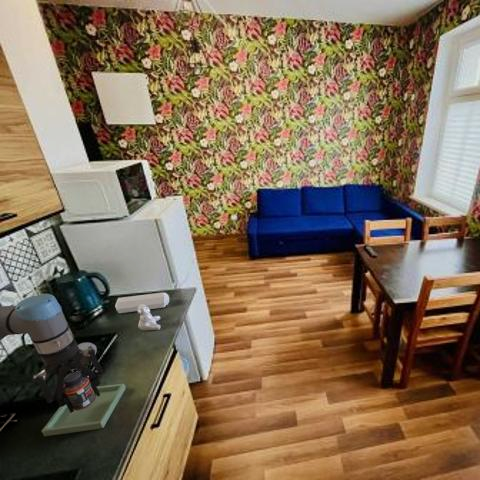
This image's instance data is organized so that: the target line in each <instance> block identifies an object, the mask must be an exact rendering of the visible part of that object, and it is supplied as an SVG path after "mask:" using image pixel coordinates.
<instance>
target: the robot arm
mask: <svg viewBox="0 0 480 480" xmlns="http://www.w3.org/2000/svg"><path fill="white" fill-rule="evenodd" d="M23 334H27V335H28V337H29V338H30V341H31V342H32V344H33V346H34V348H35V349H36V351H37V353H38V354H39V357H40V360H41V361H42V362H43V365H44V367H43V370H41V371H40V372H35V373H33V374H32V378H33V381H34V383H36V384H38V385H39V387H40V389H41V391H42V393H43V396H44V398H45V401H46V403H47V404H52V403H53V402H54V401H57V403H58V405H59V407H60V406H61V407H63V406H65V405H67V407H68V409H69V411H70V413H72V412H74V410H73V408H72V406H71V405H70V403H69V401H68V399H67V397H66V395H65V393H64V391H63V386H64V378H65V377H64V376H65V374H67V373H69V372H70V370H73V369H75V368H77V369H78V370H80V372H81V373H83V374H84V375H86V376H88V378H89V380H90V383H91V385H92V387H93V389H94V391H95V394H96V395H97V397H98V396H100V393H99V391H98V389H97V387H99V386H101V381H100V380H99V376H100V375H102V374H104V372H105V371H104V369H103V367H102V365H101V363H100V362H99V361H98V357H96V354H95V350H94V348H93V347H92V346H90V347H88V349H86V350H81V349H79V347H78V345H79V344H78V343H77V341H76V339H75V337H74V334H73V333H72V330H71V328H70V325H69V324H68V322H67V320H66V317H65V314H64V312H63V309H62V306H61V305H60V303H59V302H58V300H57V299H56V297H55V295H53V294H50V293H40V294H38V295H31V296H29V297H26V298H24V299H22V300H20V301H19V302H18V303H16V305H0V341H2V340H3V339H4V338H6V337H9V336H14V335H23ZM83 355H86V356H88V357H89V358H90V360H91V361H92V365H93V366H94V369H95V370H93V369H91V368H90V367H89V368H88V367H87V366H85V365H84V364H82V363H81V362H80V361H81V359H82V357H83ZM47 374H52V375H54V392H53V394H52V393H51V391H50V389H49V386H48V383H47V382H46V378H47Z"/></svg>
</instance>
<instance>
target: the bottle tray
mask: <svg viewBox="0 0 480 480" xmlns="http://www.w3.org/2000/svg"><path fill="white" fill-rule="evenodd" d="M96 387H97V389H98V391H99V393H100V396H98V397H97V395H96V399H95V400H94V402H93V403H92V404H91V405H90V406H88V407H86V408H84V409H82V410H74V409H73V410H74V412H72V413H70V411H69V409H68V407H67V405H65V406H63V407H61V406H60V405H59V408H58V409H57V410H56V412H55V413H53V415H52V417H51V418H50V419H49V421H48V422H47V423H46V425H45V426H44V427H43V428H42V429H41V433H42V435H43V437H50V436H58V435H65V434H72V433H78V432H86V431H93V430H94V431H95V430H100V429H104V428H105V426H106V424H107V422H108V420H109V419H110V417H111V416H112V413H113V411H114V410H115V408H116V406H117V405H118V403H119V401H120V399H121V397H122V396H123V394H124V392H125V391H126V389H127V387H126V385H125V383H116V384H108V385H98V386H96Z"/></svg>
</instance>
